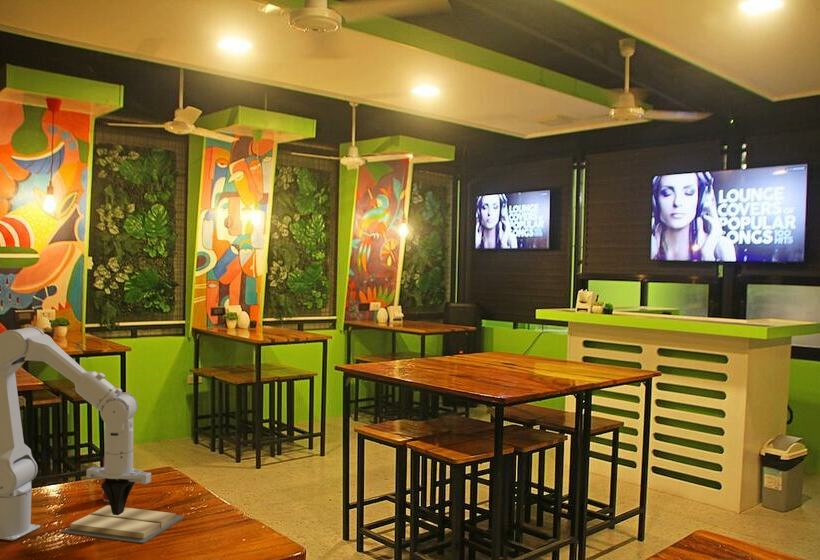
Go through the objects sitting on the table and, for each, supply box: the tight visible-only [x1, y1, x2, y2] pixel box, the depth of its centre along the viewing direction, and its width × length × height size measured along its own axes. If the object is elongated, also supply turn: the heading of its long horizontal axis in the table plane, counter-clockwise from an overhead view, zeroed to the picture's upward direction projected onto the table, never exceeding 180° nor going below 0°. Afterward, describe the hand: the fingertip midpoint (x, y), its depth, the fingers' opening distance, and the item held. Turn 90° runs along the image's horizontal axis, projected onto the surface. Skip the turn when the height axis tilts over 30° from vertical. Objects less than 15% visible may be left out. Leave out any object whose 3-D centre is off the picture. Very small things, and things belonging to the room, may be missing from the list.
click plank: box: [69, 514, 160, 539], centre depth 153 cm, size 18×6×1 cm, turn 77°
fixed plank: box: [89, 504, 177, 528], centre depth 160 cm, size 18×6×1 cm, turn 77°
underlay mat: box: [61, 514, 185, 545], centre depth 157 cm, size 20×16×1 cm
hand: (118, 513), depth 151 cm, fingers closed
